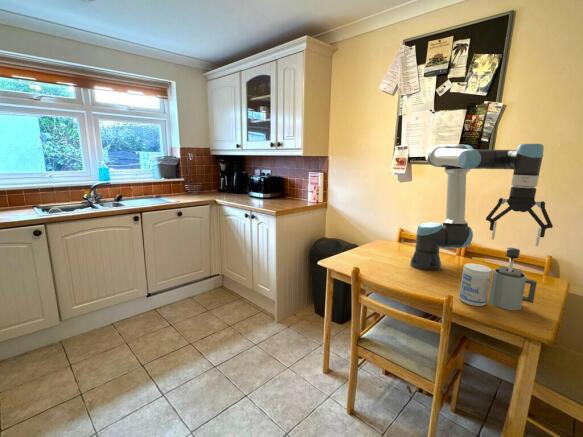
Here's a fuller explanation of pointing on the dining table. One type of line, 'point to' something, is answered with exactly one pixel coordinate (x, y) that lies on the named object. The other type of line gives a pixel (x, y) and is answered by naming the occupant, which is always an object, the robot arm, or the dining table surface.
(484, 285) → the supplement tub
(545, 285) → the dining table surface
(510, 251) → the plunger
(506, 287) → the press carafe
